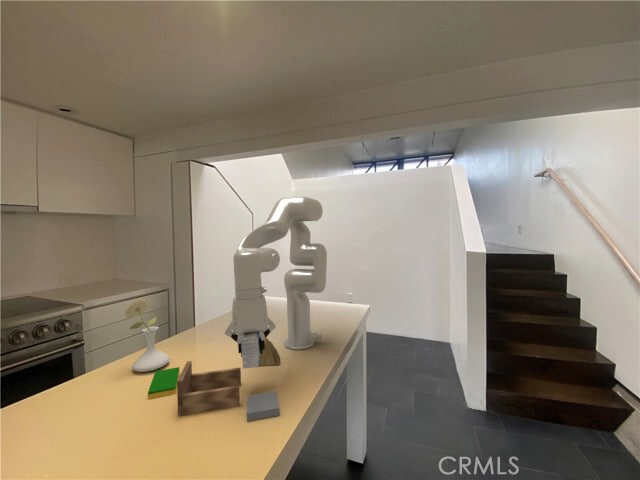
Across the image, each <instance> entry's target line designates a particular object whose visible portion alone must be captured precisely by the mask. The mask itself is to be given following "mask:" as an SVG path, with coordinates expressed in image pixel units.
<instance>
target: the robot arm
mask: <svg viewBox="0 0 640 480" xmlns="http://www.w3.org/2000/svg"><path fill="white" fill-rule="evenodd" d="M322 216H323V206H322V204H321V202H320V201H319V200H317V199H314V198H311V197H307V196H295V197H294V196H293V197H283V198H280V199H279V200H277V202H276V203H275V204H274V206H273V208H272V210H271V211H270V213H269V215H268V217H267V219H266V221H265V222H264V223H263V224H261V225H259V226H258V227H256V228H255V229H254V230H252V231H251V232H249V233H248V234H247V235H246V236H245V237H243V239H242V241H241V242H240V243H239V245H238V247H237V250H236V251H235V253H234V254H233V257H232V258H233V273H234V291H235V292H234V293H235V297H234V298H232V305H231V306H232V309H231V322H230V323H229V325H228V326H227V327H226V329H225V331H224V334H225V336H227V337H229V338H231V339H232V340H233V341H235V342H236V344H237V348H238V354H240V357H241V358H242V347H241V340H242V337H243V334H244V333H250V332H258V331H259V334H260V338H259V341H260V354H263V350H264V349H265V342H264V340H265V338H267V337H268V336H269V335H270V334H271V332H273V331H274V330H275V329H276V324H275V323H274V322H273V321H272V320H271V319H270V317H268V307H267V301H266V298H265V294H264V293H267V291H268V289H267V287H264V286H262V273H268V272H273V271H275V270H276V269H277V268H278V267H279V265H280V261H281V257H280V253H279V251H277V250H276V249H274V248H271V247H264V246H266V245H269V244H271V243H274V242H277V241H279V240H282V239H283V238H285V237H286V236H287V235H288V232H289V231H290V241H289V242H290V246H289V262H290V263H291V264H292V265H293V266H300V267H313V269H311V268H310V269H309V268H307V269H306V268H293V269H289V270H287V272H285V274H284V278H283V283H284V287H285V288H284V289H285V292H286V293H285V294H286V303H287V304H286V305H287V315H286V316H287V339H285V340H284V342H283V343H284V345H283V346H285V347H286V348H287V349H289V350H295V351H296V350H297V351H298V350H306V349H309V348H311V347H313V346H314V345H315V339H323V335H322V333H318V332H312V330H311V302H310V298H309V297H308V295H307V293H311V294H312V293H314V294H319V293H323V292H324V291H325V288H326V285H327V266H328V253H327V252H328V251H327V249H326V247H325V246H324V244H322V243H316V242H315V243H311V231H310V229H309V227H308V226H307V225H306V223H305V222H318V221H319V220H320V219H321V218H322Z"/></svg>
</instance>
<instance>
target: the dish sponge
mask: <svg viewBox="0 0 640 480" xmlns="http://www.w3.org/2000/svg"><path fill="white" fill-rule="evenodd" d="M179 377H180V367H179V366H178V367H172V368H166V369H162V370H161V369H160V370H155V372H154V375H153V378H152V380H151V381H150V382H151V383H150V386H149V388H148V391H147V400H152V399H153V400H154V399H159V398H161V397H167V396H171V395H175V394H177V381H178V379H179Z"/></svg>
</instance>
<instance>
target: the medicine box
mask: <svg viewBox="0 0 640 480" xmlns="http://www.w3.org/2000/svg"><path fill="white" fill-rule="evenodd" d="M259 338H260V334H259V331H258V332H250V333H243V336H242V340H241V347H242V357H241V360H242V369H252V368H258V367H260V366H259V361H260V341H259Z"/></svg>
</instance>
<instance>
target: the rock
mask: <svg viewBox="0 0 640 480" xmlns="http://www.w3.org/2000/svg"><path fill="white" fill-rule="evenodd" d="M264 342H265V349H264V350H263V354H260V361H259V367H265V366H278V365H280V364H281V357H280V354H279V352H278V350H277V349H276V347H275V345H274V344H273V342H271V341H270V339H269V338H267V337H266V338H265V340H264Z"/></svg>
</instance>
